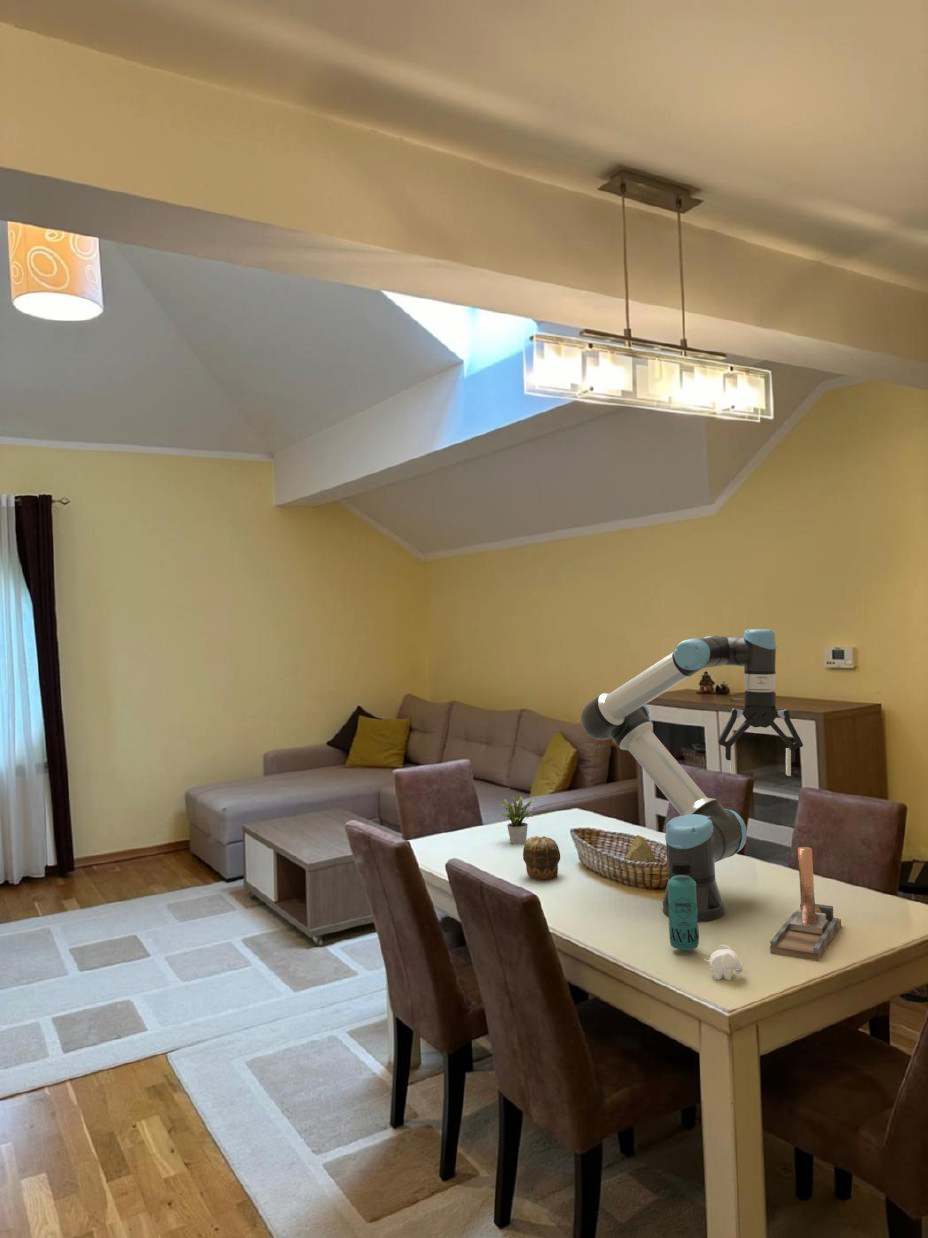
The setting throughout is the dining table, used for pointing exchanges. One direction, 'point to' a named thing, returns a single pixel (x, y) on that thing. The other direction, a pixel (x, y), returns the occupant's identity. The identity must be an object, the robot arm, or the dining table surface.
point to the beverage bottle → (682, 908)
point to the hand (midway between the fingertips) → (759, 774)
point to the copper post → (807, 898)
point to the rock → (640, 850)
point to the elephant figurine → (724, 963)
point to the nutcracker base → (805, 937)
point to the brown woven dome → (541, 858)
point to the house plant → (517, 821)
